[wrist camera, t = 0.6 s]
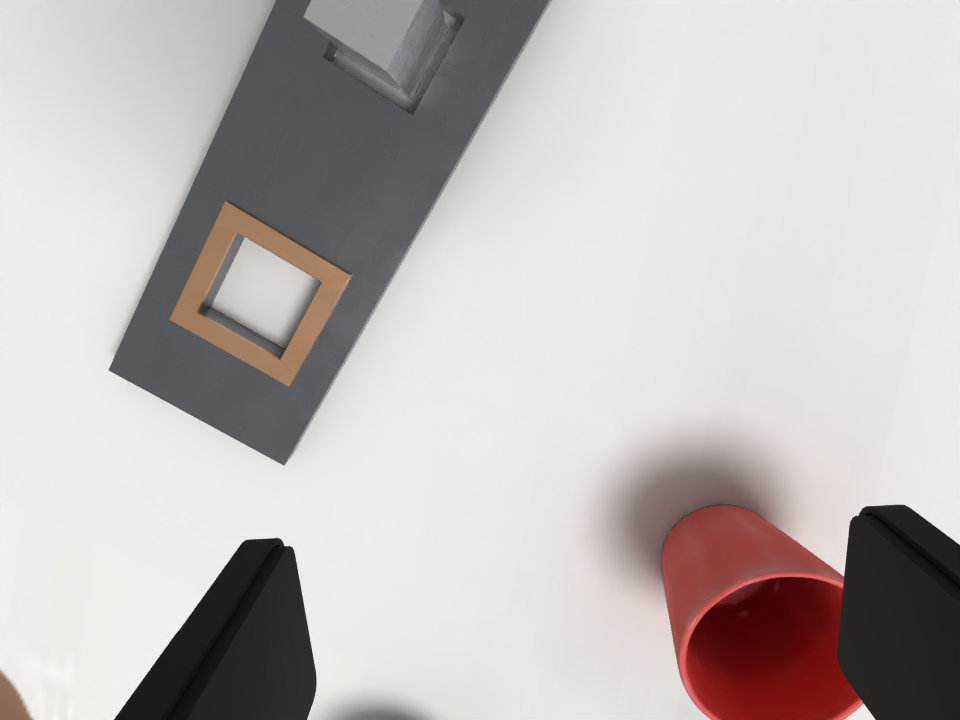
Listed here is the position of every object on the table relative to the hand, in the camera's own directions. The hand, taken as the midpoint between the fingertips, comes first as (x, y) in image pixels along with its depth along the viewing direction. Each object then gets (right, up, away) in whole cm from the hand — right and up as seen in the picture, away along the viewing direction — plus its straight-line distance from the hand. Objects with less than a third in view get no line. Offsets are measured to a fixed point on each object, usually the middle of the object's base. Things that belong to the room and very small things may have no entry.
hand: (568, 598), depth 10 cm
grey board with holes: (-10, +15, +24) cm, 30 cm away
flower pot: (+15, -9, +31) cm, 35 cm away
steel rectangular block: (-6, +21, +22) cm, 31 cm away
